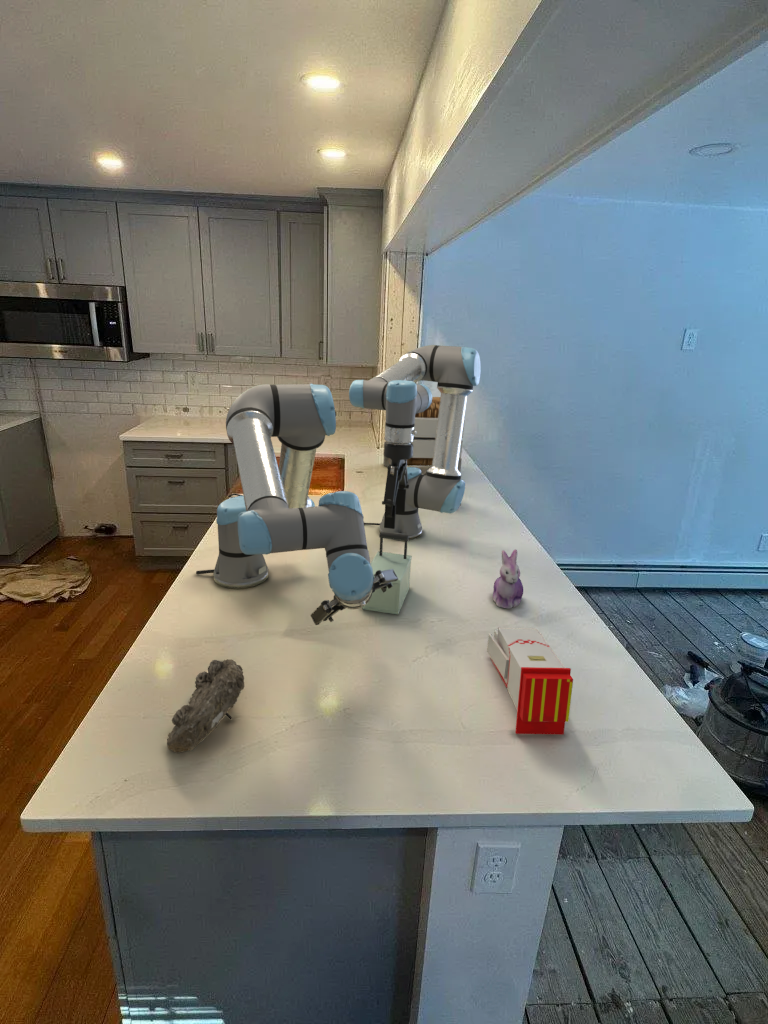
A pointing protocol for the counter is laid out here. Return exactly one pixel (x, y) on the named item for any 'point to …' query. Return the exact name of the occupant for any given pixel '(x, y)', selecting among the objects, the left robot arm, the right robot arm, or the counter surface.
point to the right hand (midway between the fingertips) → (394, 519)
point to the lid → (392, 557)
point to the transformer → (425, 437)
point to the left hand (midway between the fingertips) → (355, 601)
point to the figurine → (508, 583)
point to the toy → (532, 679)
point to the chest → (390, 596)
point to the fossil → (206, 705)
